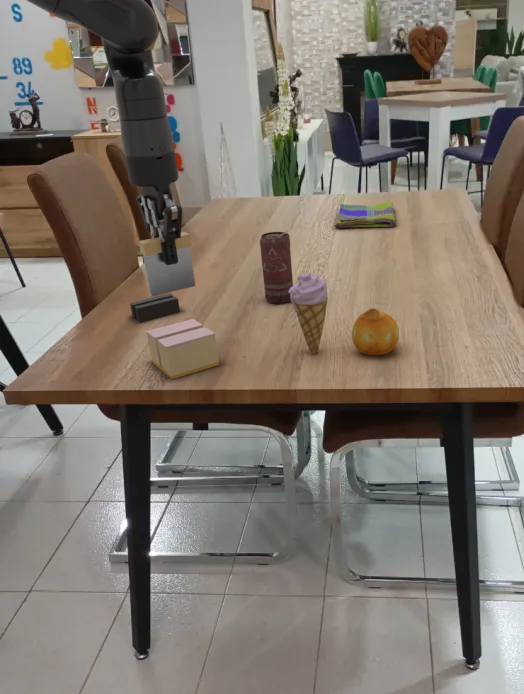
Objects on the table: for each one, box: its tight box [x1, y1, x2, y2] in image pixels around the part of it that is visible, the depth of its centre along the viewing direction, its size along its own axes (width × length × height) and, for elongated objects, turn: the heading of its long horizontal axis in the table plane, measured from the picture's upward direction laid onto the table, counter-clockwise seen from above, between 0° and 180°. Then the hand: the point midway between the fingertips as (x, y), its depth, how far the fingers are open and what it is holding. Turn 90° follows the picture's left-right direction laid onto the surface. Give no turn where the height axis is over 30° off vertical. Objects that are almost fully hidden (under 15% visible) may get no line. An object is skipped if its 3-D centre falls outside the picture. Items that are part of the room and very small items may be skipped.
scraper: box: [138, 231, 196, 298], centre depth 114 cm, size 8×2×9 cm, turn 124°
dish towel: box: [334, 201, 396, 229], centre depth 206 cm, size 18×24×3 cm
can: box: [259, 231, 294, 305], centre depth 146 cm, size 6×6×14 cm
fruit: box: [351, 307, 400, 356], centre depth 121 cm, size 8×8×8 cm
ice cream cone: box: [288, 271, 328, 355], centre depth 120 cm, size 7×6×15 cm
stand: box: [129, 293, 181, 323], centre depth 145 cm, size 9×4×3 cm, turn 123°
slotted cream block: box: [146, 318, 220, 380], centre depth 121 cm, size 9×9×6 cm
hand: (168, 261), depth 113 cm, fingers closed on scraper, 2 cm apart
